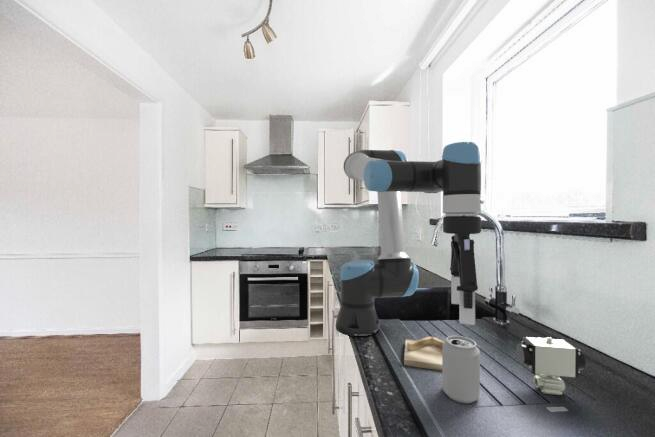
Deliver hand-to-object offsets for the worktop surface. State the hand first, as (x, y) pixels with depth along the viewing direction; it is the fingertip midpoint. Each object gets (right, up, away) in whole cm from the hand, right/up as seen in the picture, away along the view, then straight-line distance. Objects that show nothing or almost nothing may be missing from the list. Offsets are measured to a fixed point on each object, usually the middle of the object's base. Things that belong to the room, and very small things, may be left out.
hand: (461, 312), depth 63 cm
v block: (0, -18, +17) cm, 25 cm away
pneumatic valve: (+21, -18, +2) cm, 28 cm away
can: (0, -18, +1) cm, 18 cm away
